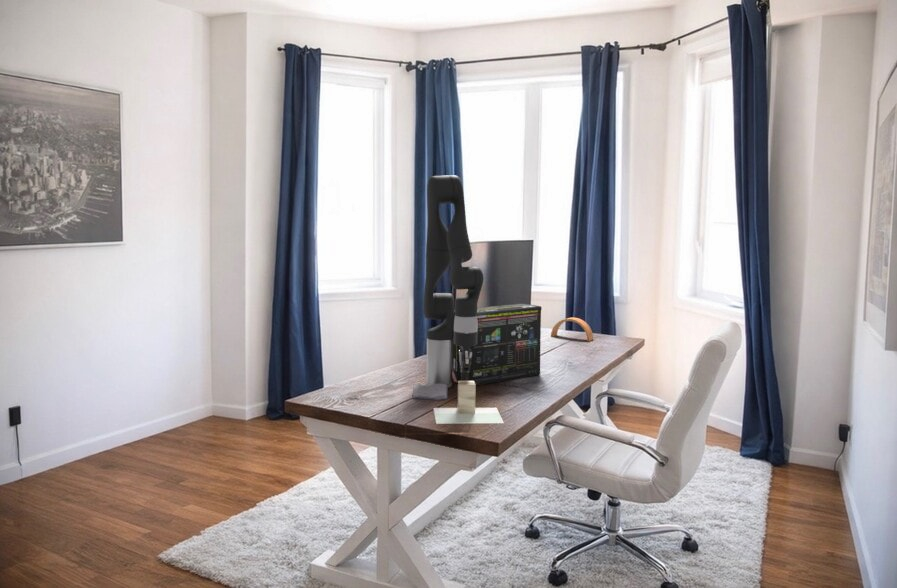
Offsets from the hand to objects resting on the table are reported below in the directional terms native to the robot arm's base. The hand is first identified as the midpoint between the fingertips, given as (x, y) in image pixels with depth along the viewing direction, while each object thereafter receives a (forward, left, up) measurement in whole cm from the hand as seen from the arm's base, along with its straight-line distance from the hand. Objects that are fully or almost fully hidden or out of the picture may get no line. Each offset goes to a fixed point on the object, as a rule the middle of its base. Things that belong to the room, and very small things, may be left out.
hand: (464, 383), depth 227 cm
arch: (-117, +64, -8) cm, 134 cm away
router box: (-37, +15, -8) cm, 41 cm away
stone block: (-11, -10, -8) cm, 17 cm away
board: (+11, 0, -8) cm, 14 cm away
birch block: (+7, 0, -7) cm, 10 cm away
